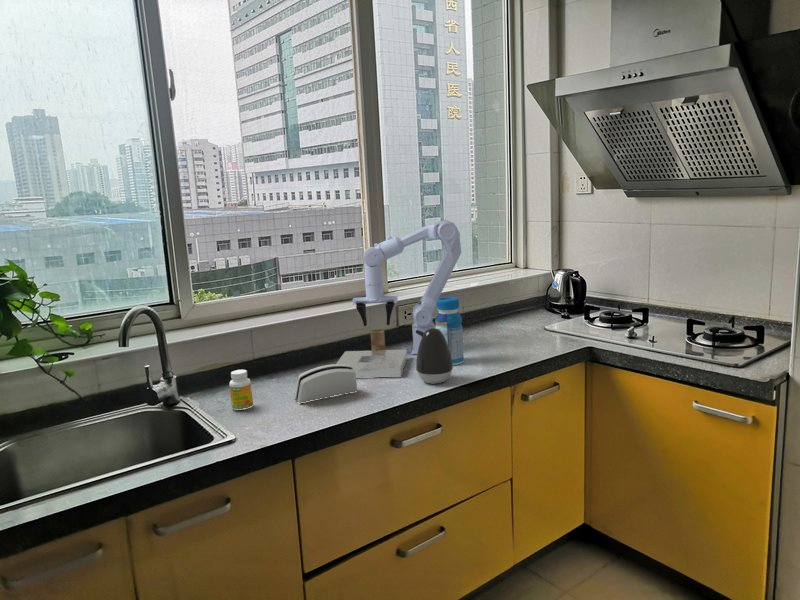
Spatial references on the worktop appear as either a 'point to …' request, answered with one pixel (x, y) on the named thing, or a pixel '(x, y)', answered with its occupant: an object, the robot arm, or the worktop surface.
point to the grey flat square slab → (375, 362)
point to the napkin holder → (325, 382)
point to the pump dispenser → (433, 357)
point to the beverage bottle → (451, 326)
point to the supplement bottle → (240, 390)
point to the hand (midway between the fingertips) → (376, 325)
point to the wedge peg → (378, 340)
